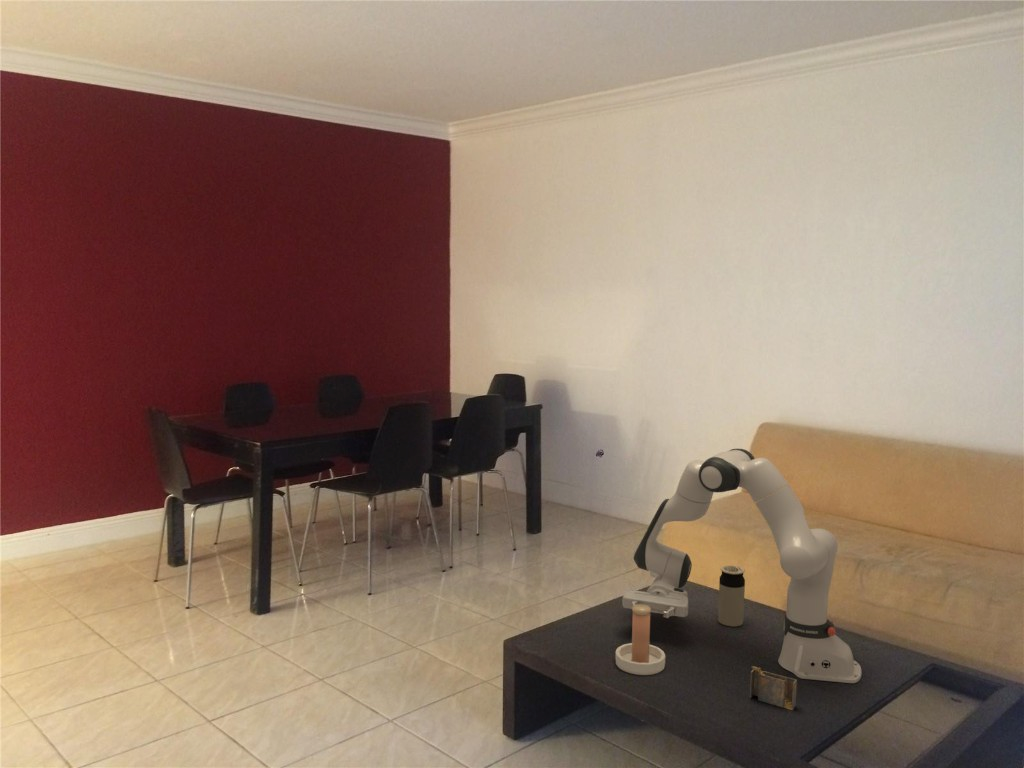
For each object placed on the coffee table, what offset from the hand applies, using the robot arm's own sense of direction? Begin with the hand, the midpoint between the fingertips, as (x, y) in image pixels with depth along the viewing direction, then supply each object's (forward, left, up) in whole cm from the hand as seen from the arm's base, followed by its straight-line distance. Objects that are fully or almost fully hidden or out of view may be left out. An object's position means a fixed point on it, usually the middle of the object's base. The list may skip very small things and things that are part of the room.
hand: (650, 612), depth 251 cm
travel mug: (-20, -29, -11) cm, 37 cm away
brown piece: (-38, +20, -12) cm, 44 cm away
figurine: (+4, -36, -11) cm, 38 cm away
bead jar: (0, +12, -10) cm, 16 cm away
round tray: (0, +12, -11) cm, 16 cm away
